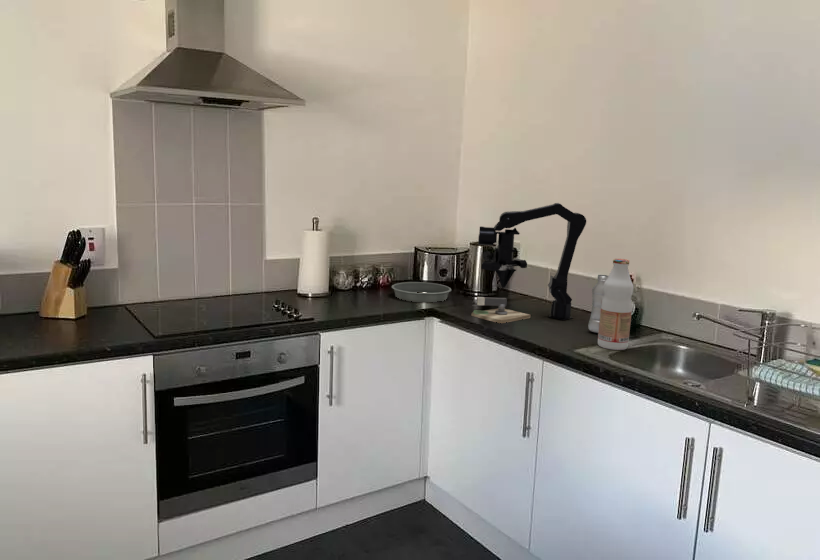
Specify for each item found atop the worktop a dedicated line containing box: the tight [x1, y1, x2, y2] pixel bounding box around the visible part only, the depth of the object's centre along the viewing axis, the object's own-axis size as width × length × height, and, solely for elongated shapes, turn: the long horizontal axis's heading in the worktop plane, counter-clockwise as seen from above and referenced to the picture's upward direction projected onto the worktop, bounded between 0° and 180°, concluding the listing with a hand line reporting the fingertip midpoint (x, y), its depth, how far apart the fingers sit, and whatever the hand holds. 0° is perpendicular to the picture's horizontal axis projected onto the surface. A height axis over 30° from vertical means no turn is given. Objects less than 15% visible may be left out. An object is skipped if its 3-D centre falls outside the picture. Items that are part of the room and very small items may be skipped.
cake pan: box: [391, 281, 452, 303], centre depth 283 cm, size 25×25×4 cm
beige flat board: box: [470, 308, 531, 324], centre depth 254 cm, size 16×18×2 cm
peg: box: [476, 296, 508, 311], centre depth 252 cm, size 11×2×4 cm, turn 94°
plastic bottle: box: [587, 274, 609, 334], centre depth 235 cm, size 6×7×20 cm
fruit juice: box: [597, 258, 635, 351], centre depth 217 cm, size 9×9×28 cm
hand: (503, 287), depth 257 cm, fingers closed
